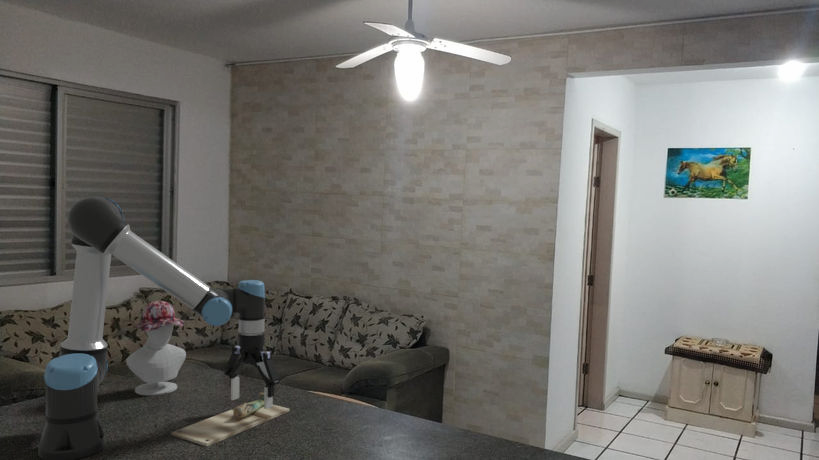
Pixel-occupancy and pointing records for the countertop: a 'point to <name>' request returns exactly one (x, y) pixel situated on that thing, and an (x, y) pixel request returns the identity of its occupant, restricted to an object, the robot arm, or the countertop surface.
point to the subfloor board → (226, 425)
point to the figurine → (249, 407)
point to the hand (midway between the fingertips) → (251, 403)
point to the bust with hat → (157, 350)
